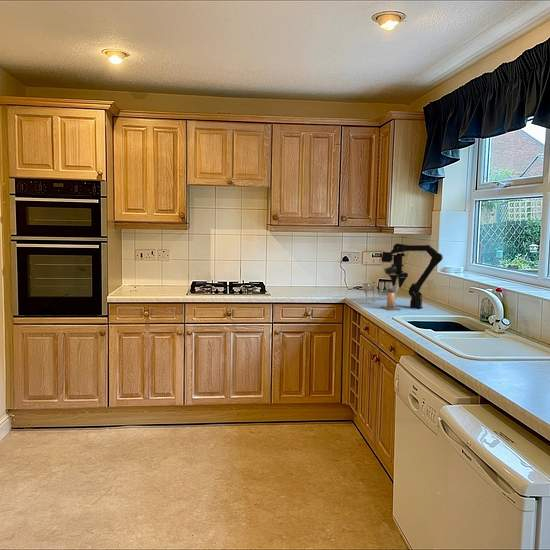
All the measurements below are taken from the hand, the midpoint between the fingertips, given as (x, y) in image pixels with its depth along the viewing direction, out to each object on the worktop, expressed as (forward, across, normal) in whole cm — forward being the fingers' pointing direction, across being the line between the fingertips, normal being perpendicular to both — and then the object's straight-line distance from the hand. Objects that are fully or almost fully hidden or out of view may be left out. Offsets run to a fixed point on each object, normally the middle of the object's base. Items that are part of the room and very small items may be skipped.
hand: (396, 286), depth 342 cm
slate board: (+13, +8, -8) cm, 17 cm away
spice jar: (+12, +8, -8) cm, 16 cm away
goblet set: (+13, -24, 0) cm, 27 cm away
